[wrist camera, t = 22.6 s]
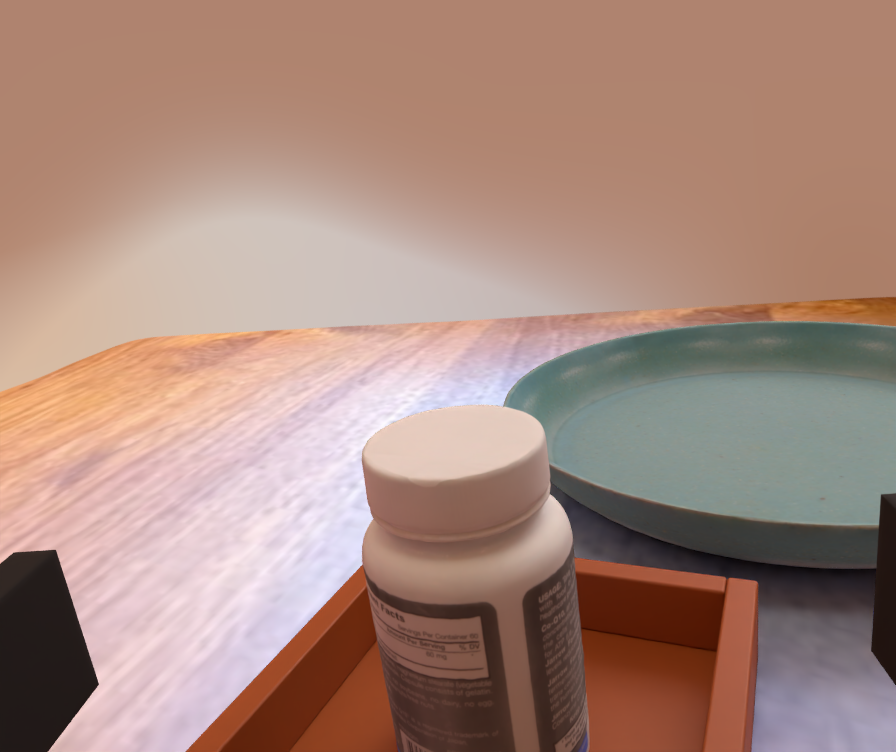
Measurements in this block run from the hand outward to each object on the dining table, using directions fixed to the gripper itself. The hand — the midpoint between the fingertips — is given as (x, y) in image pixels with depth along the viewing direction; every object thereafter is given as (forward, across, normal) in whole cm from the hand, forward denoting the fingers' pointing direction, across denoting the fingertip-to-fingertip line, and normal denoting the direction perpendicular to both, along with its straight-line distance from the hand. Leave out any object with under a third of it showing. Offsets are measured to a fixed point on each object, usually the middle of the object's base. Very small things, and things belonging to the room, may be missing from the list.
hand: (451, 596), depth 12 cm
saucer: (+21, +12, -8) cm, 26 cm away
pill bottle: (+4, 0, -8) cm, 9 cm away
